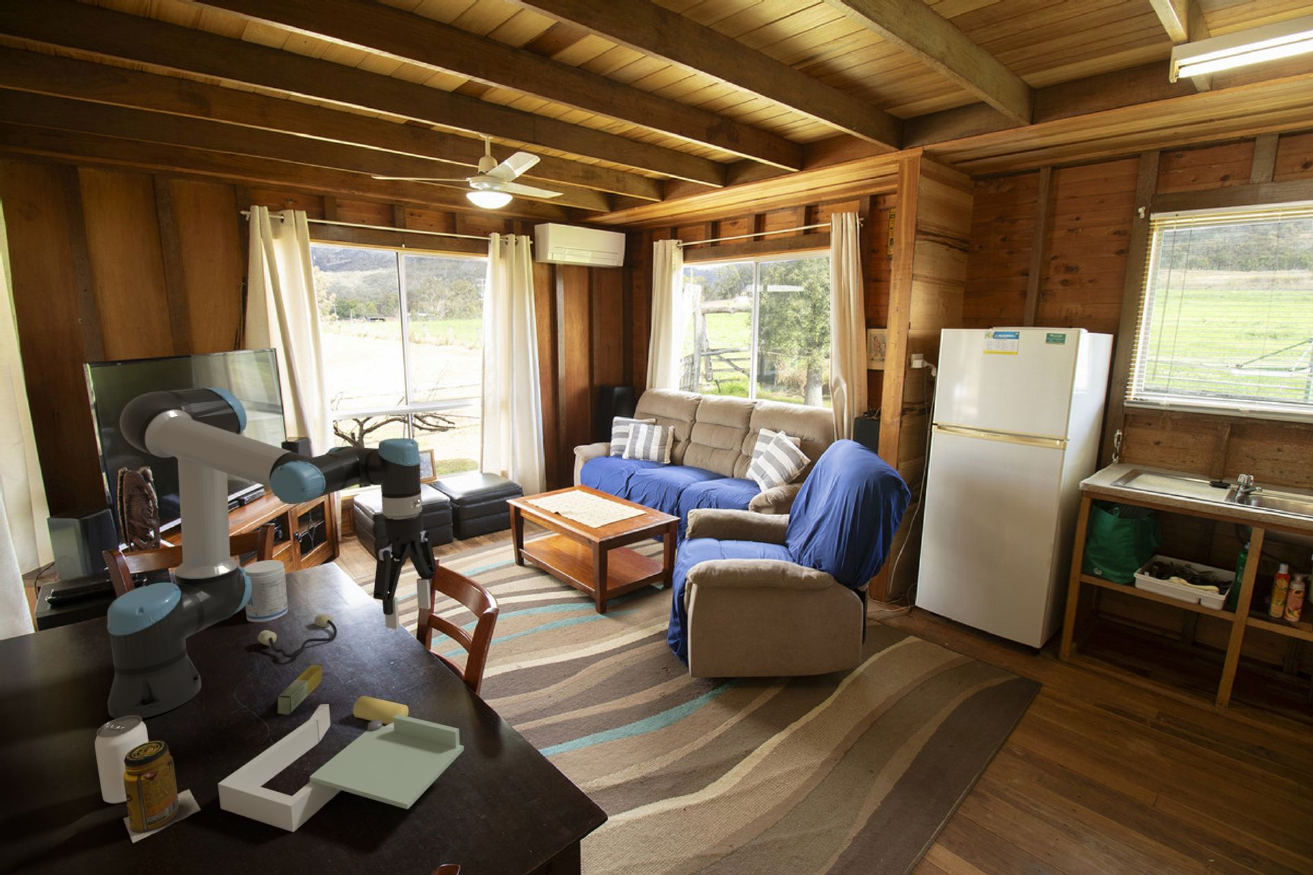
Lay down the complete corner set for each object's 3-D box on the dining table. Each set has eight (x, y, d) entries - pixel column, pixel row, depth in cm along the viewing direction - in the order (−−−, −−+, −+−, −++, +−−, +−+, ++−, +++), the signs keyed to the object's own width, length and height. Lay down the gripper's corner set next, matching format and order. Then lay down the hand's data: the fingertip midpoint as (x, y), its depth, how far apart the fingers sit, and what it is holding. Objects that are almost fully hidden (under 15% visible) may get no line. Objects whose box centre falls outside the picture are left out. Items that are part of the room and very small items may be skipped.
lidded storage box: (303, 835, 93) (301, 809, 92) (211, 805, 98) (208, 780, 98) (405, 743, 114) (404, 721, 113) (324, 723, 120) (322, 702, 119)
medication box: (289, 715, 122) (289, 697, 122) (276, 714, 122) (276, 696, 122) (322, 681, 134) (322, 664, 133) (310, 680, 134) (310, 663, 133)
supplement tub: (240, 619, 163) (234, 567, 161) (276, 606, 171) (272, 556, 169) (258, 628, 158) (253, 575, 156) (295, 614, 166) (291, 563, 164)
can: (124, 807, 98) (114, 740, 96) (92, 801, 99) (82, 735, 97) (163, 779, 104) (155, 716, 102) (133, 774, 105) (124, 711, 103)
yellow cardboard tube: (353, 721, 121) (352, 702, 120) (368, 709, 124) (367, 691, 124) (394, 731, 118) (393, 712, 117) (408, 719, 121) (408, 700, 121)
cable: (354, 637, 152) (353, 624, 152) (283, 663, 139) (282, 648, 139) (325, 621, 161) (324, 609, 161) (256, 643, 149) (255, 630, 148)
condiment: (123, 819, 95) (113, 750, 94) (189, 789, 102) (181, 725, 100) (133, 844, 91) (122, 772, 89) (201, 811, 97) (193, 744, 95)
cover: (407, 809, 92) (406, 786, 91) (307, 779, 98) (305, 758, 97) (465, 747, 106) (465, 727, 105) (374, 725, 112) (373, 706, 111)
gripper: (378, 531, 112) (386, 644, 116) (451, 502, 133) (456, 599, 136) (346, 527, 114) (354, 638, 118) (423, 499, 135) (428, 594, 138)
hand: (409, 617), depth 127 cm, fingers open, 9 cm apart
